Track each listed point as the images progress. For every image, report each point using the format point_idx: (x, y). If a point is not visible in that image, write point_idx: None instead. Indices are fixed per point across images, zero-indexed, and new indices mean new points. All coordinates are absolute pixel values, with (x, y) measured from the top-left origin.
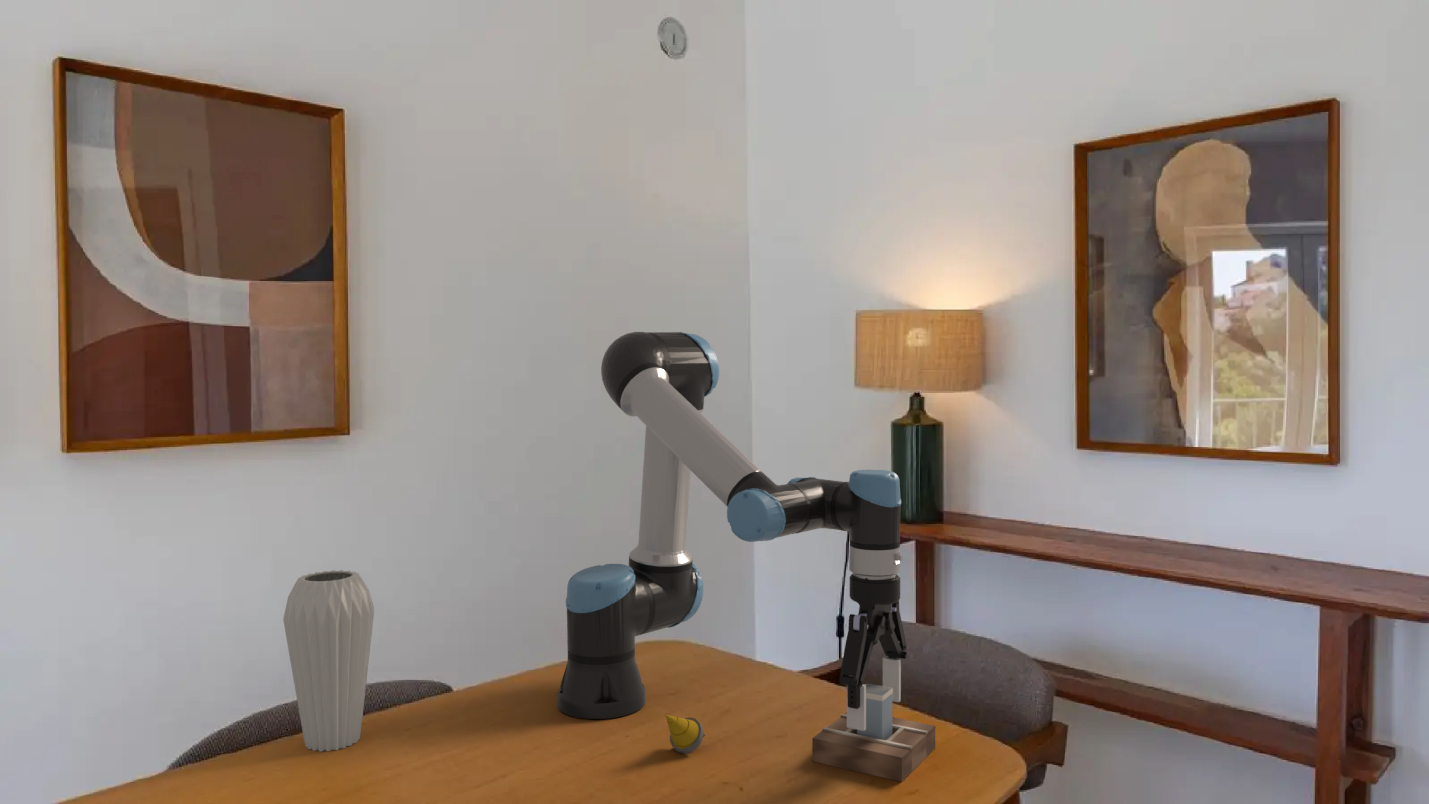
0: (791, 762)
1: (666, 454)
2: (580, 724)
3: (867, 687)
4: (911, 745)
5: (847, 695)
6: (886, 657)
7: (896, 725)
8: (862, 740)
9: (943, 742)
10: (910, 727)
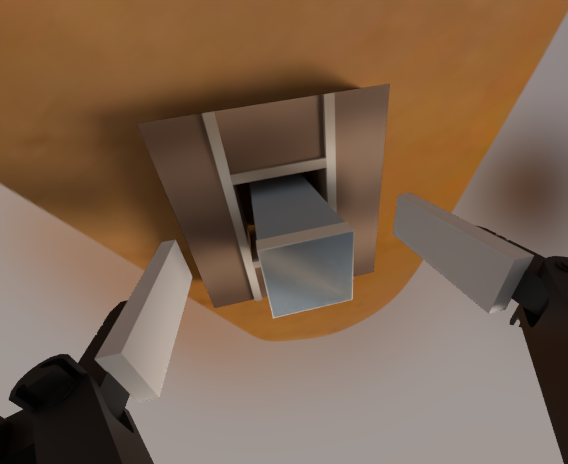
0: (107, 78)
1: None
2: None
3: (314, 253)
4: None
5: (122, 313)
6: (529, 263)
7: None
8: (227, 225)
9: (382, 246)
10: None
